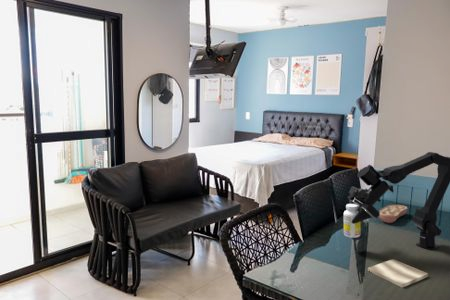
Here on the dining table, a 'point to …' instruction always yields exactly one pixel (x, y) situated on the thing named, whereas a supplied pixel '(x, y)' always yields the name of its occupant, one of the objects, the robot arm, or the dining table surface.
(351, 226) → the supplement bottle
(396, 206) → the anatomical model
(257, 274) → the dining table surface
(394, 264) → the birch board
